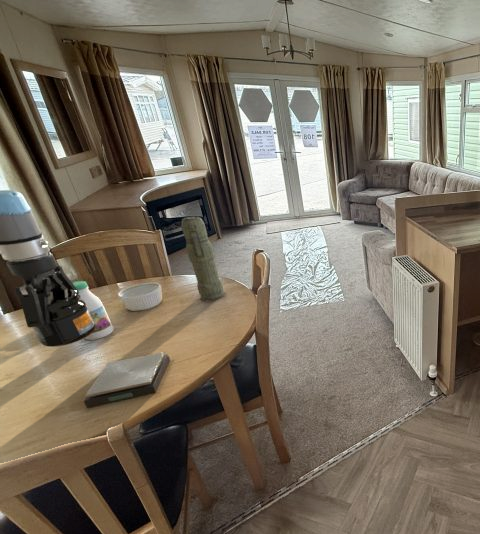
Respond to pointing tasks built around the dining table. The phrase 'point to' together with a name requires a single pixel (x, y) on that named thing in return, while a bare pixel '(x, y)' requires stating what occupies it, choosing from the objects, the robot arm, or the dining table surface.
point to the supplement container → (68, 317)
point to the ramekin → (141, 296)
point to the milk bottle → (95, 312)
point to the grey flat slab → (126, 374)
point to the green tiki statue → (202, 258)
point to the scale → (130, 389)
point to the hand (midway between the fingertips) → (68, 332)
